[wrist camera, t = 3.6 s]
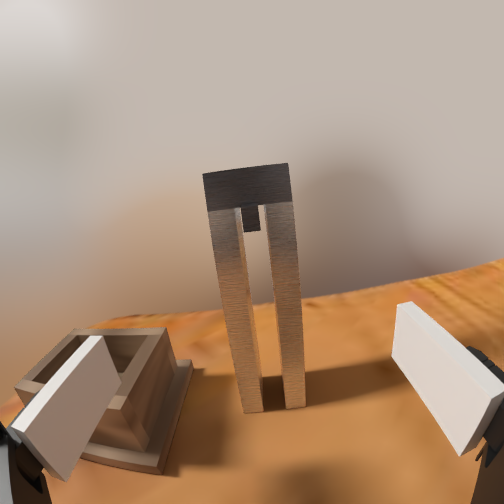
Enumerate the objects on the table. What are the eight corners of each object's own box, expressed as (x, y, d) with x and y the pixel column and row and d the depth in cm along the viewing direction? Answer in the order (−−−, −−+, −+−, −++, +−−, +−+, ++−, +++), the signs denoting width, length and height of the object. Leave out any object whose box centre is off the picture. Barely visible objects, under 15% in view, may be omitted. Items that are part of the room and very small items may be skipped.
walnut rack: (193, 368, 24) (181, 320, 23) (162, 474, 12) (130, 424, 11) (88, 365, 24) (72, 324, 23) (31, 440, 13) (-1, 392, 12)
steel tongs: (298, 372, 22) (280, 167, 18) (308, 419, 16) (291, 161, 13) (245, 378, 22) (213, 175, 18) (243, 425, 17) (197, 172, 13)
